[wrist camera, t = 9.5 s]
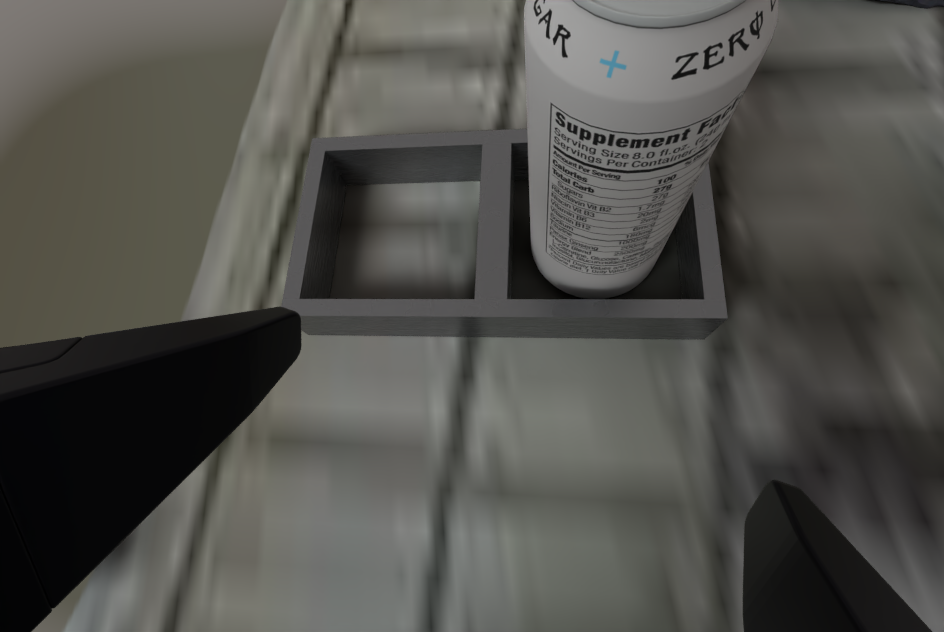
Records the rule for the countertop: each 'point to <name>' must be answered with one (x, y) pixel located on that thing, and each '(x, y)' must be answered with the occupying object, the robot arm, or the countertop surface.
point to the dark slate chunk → (919, 3)
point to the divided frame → (481, 250)
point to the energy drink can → (627, 125)
